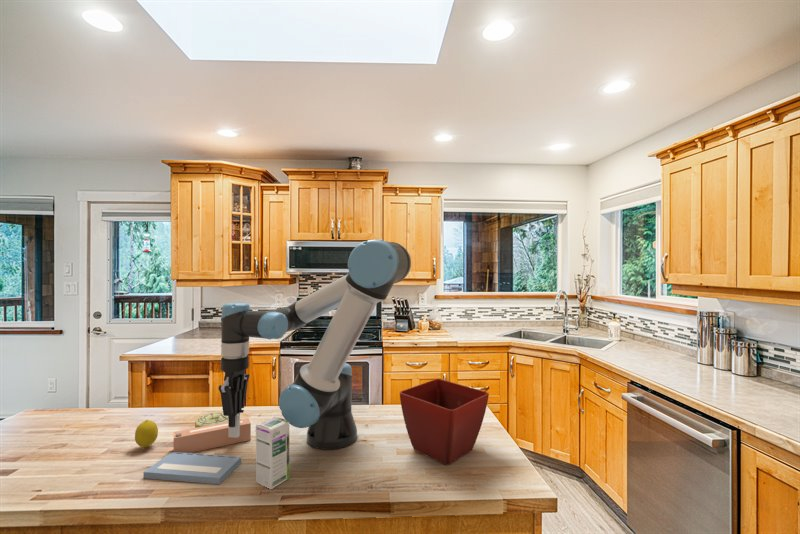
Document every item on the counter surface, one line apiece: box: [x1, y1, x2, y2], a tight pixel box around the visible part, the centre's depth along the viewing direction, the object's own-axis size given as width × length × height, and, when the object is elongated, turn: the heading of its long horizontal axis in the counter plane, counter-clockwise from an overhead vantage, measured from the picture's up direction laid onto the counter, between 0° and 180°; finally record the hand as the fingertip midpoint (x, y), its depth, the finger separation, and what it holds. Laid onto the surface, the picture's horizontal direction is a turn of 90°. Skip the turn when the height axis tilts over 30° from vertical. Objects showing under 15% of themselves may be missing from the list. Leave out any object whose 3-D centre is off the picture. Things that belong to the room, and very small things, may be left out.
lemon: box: [134, 419, 159, 449], centre depth 108 cm, size 6×6×8 cm
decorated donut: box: [194, 411, 229, 428], centre depth 122 cm, size 10×11×4 cm
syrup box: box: [255, 416, 291, 490], centre depth 93 cm, size 6×6×14 cm
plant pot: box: [399, 378, 490, 466], centre depth 109 cm, size 19×19×17 cm
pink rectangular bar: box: [172, 417, 252, 453], centre depth 111 cm, size 20×4×5 cm, turn 121°
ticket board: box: [143, 451, 242, 485], centre depth 97 cm, size 20×10×2 cm, turn 84°
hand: (233, 436), depth 110 cm, fingers closed
